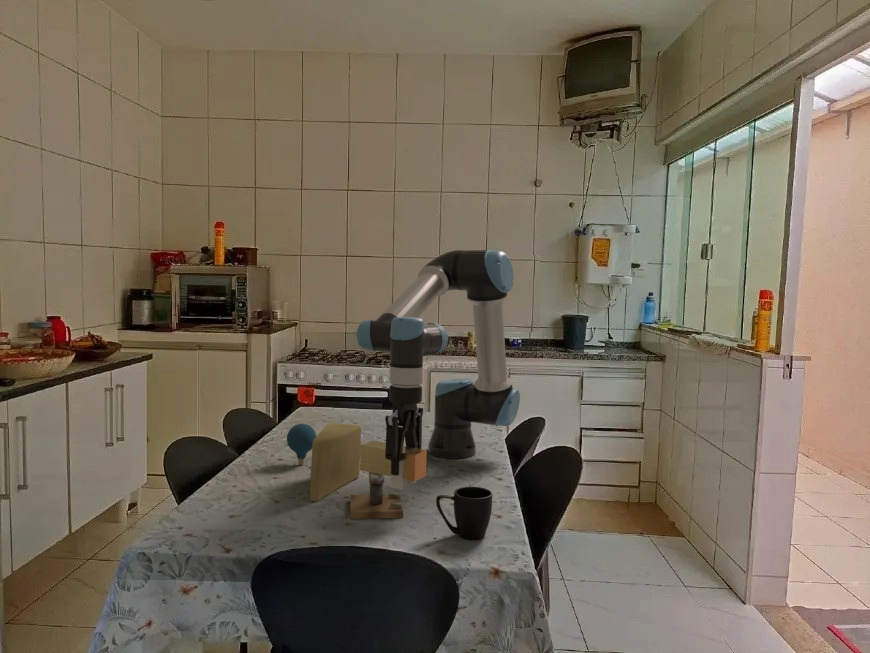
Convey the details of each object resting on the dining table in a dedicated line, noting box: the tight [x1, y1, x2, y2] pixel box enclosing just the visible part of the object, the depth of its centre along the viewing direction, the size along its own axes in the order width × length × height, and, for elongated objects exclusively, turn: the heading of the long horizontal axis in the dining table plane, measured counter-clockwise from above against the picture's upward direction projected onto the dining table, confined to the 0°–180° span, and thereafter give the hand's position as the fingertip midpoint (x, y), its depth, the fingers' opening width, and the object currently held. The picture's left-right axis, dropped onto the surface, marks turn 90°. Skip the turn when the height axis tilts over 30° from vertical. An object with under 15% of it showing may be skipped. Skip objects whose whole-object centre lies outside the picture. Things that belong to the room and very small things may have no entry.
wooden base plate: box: [349, 483, 404, 520], centre depth 155 cm, size 12×12×6 cm
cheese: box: [309, 422, 362, 502], centre depth 169 cm, size 22×10×15 cm, turn 168°
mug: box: [435, 486, 493, 542], centre depth 141 cm, size 8×12×10 cm
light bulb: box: [286, 423, 317, 466], centre depth 189 cm, size 8×8×12 cm
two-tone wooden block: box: [359, 440, 428, 485], centre depth 152 cm, size 15×5×9 cm, turn 60°
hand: (403, 484), depth 151 cm, fingers closed on two-tone wooden block, 5 cm apart
